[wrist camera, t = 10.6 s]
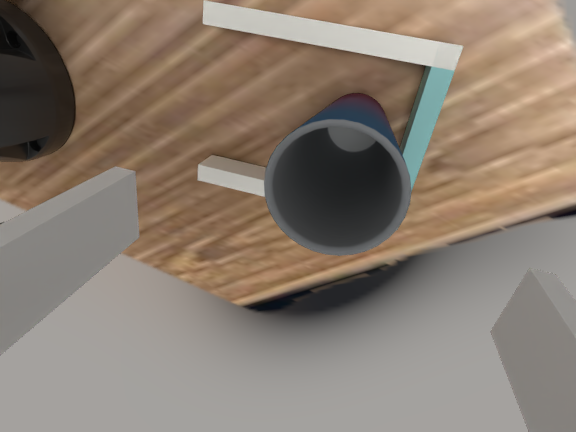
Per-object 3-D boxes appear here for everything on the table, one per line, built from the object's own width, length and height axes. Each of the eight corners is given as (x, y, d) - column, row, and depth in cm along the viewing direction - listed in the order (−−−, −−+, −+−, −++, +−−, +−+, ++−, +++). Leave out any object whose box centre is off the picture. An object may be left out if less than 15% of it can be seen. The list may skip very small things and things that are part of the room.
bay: (211, 169, 34) (197, 180, 32) (220, 3, 28) (203, 0, 25) (396, 214, 32) (397, 229, 29) (454, 45, 25) (463, 45, 23)
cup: (405, 152, 29) (424, 243, 16) (326, 171, 32) (289, 265, 19) (387, 68, 27) (393, 97, 14) (304, 96, 29) (242, 143, 16)
